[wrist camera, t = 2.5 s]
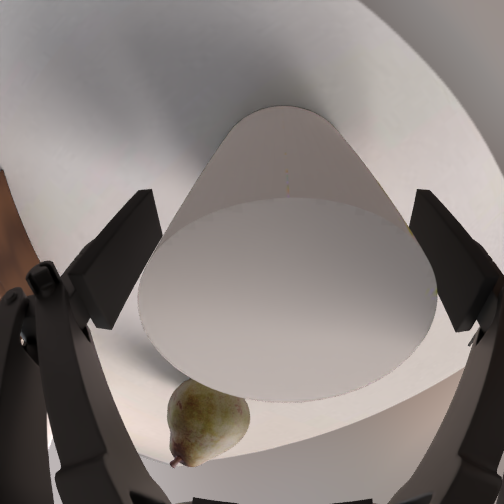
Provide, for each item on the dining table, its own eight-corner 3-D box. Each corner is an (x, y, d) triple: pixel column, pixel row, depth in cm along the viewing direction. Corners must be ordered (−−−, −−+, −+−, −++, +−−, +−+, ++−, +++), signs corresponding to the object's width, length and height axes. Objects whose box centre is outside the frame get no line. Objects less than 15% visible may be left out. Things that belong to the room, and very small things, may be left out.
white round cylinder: (324, 242, 20) (349, 410, 10) (207, 212, 19) (144, 374, 10) (370, 132, 15) (490, 258, 5) (233, 90, 14) (138, 152, 5)
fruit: (166, 359, 31) (139, 454, 21) (248, 363, 30) (235, 470, 20) (190, 397, 37) (174, 474, 27) (257, 402, 36) (249, 484, 26)
